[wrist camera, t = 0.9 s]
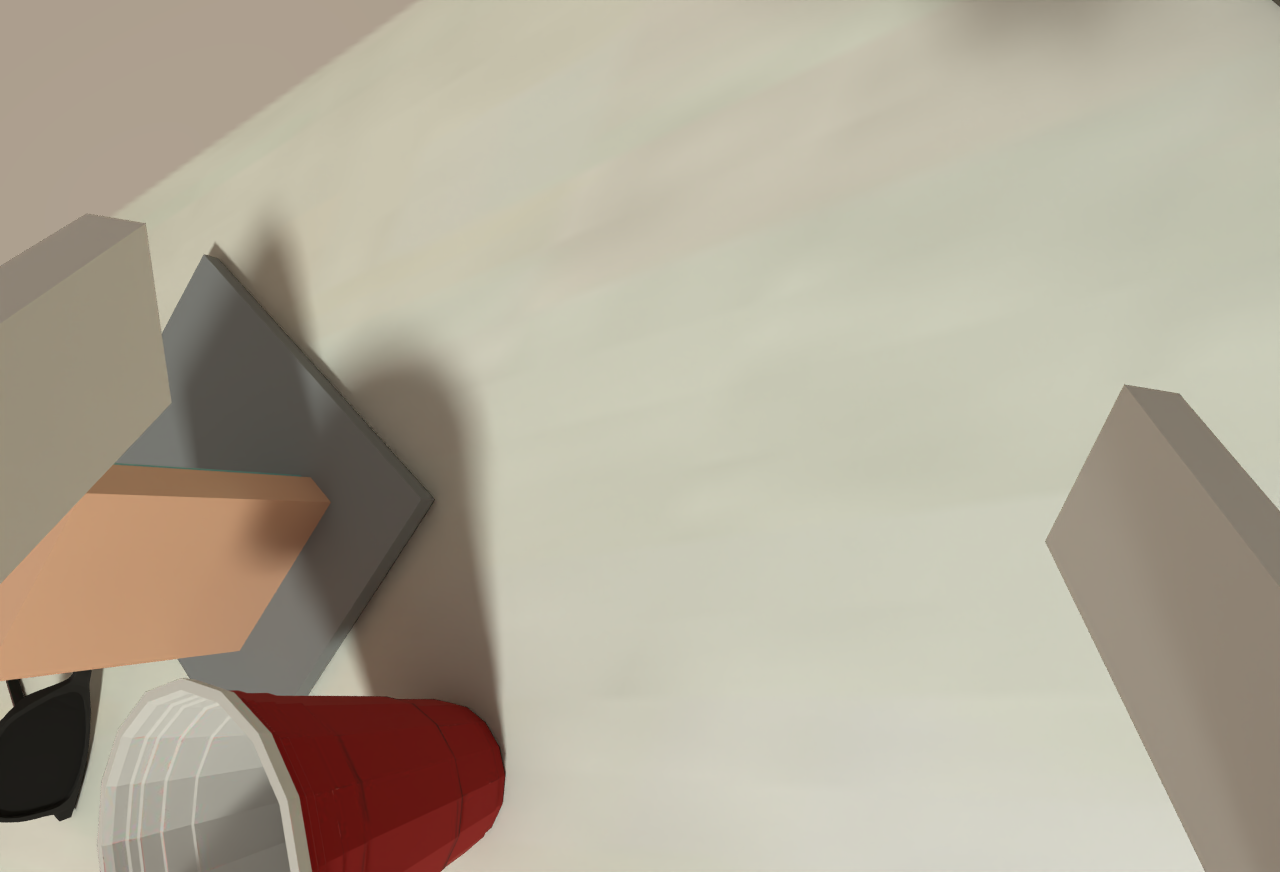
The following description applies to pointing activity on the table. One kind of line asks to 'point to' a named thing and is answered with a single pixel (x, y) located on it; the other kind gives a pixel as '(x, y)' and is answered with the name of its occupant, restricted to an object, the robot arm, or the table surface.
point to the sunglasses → (44, 749)
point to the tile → (154, 568)
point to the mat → (283, 444)
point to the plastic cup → (295, 783)
